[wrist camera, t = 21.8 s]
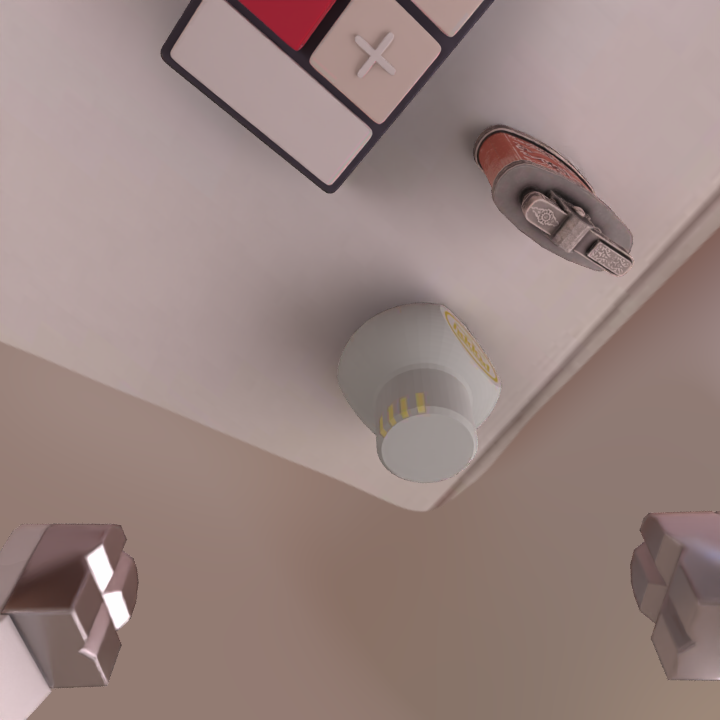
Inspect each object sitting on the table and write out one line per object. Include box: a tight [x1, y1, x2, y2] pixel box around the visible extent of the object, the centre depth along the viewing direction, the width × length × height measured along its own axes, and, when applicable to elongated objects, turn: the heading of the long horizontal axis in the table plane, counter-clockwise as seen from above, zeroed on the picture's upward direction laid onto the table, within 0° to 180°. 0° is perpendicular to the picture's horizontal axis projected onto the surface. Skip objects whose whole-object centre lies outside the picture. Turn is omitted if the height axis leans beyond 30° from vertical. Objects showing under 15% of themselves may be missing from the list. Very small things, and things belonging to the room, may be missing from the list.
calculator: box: [161, 0, 494, 193], centre depth 32 cm, size 11×4×15 cm
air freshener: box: [337, 303, 502, 483], centre depth 41 cm, size 11×8×10 cm
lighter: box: [473, 124, 634, 277], centre depth 34 cm, size 8×3×10 cm, turn 59°
